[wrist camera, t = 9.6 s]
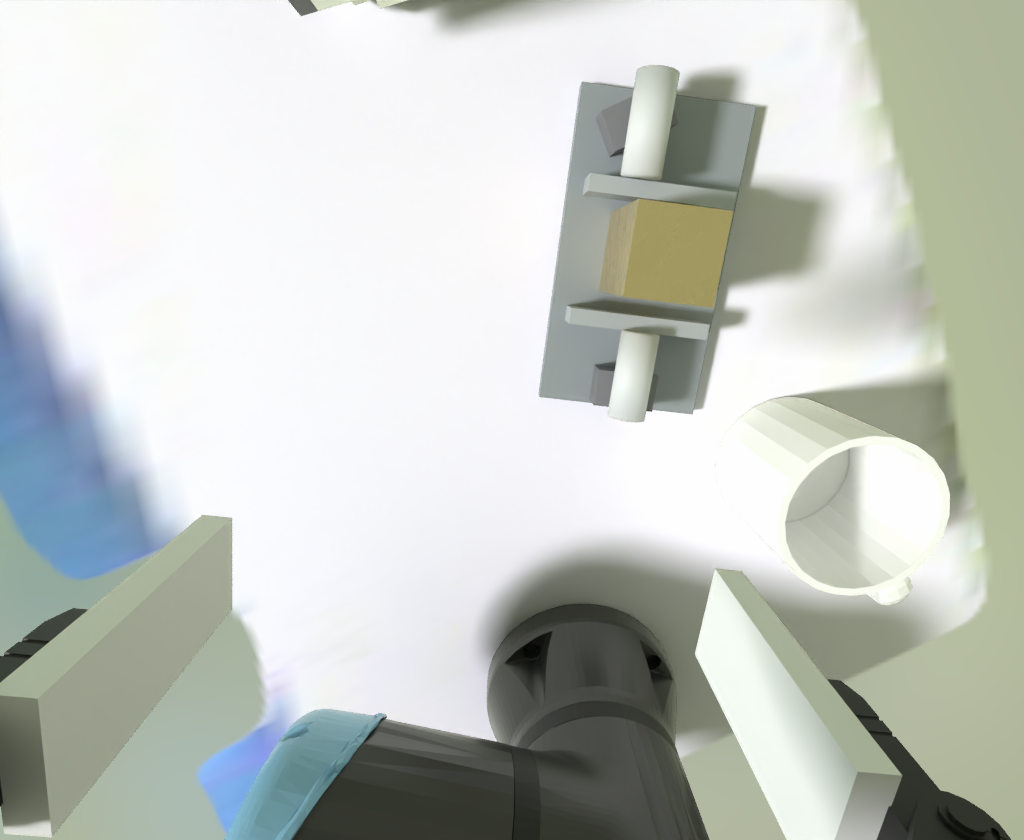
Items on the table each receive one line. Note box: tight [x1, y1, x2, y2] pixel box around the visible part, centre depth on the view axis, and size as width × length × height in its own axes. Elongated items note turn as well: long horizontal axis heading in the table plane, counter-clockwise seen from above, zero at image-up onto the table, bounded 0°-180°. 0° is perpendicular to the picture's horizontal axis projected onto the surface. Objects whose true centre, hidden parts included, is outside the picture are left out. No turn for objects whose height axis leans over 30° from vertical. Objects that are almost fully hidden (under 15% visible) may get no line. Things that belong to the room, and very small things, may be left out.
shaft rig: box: [539, 65, 756, 422], centre depth 37 cm, size 20×11×5 cm, turn 173°
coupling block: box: [599, 199, 733, 308], centre depth 34 cm, size 5×5×8 cm
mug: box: [715, 397, 950, 605], centre depth 39 cm, size 13×10×10 cm
